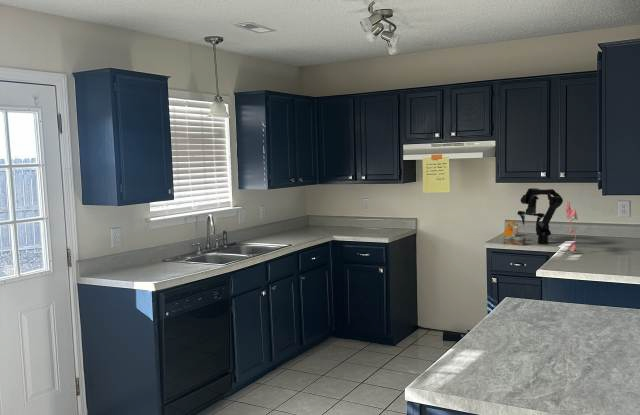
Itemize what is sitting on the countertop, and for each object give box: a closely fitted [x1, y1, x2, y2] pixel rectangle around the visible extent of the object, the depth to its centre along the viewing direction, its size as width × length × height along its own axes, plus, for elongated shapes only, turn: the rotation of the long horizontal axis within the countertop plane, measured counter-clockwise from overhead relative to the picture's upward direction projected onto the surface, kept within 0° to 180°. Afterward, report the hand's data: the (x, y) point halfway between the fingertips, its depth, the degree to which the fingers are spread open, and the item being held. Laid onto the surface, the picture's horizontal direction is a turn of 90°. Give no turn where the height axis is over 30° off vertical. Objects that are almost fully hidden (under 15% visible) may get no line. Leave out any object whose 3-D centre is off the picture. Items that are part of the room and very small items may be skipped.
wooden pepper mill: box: [512, 223, 519, 237], centre depth 459 cm, size 4×4×13 cm
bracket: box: [502, 220, 516, 237], centre depth 481 cm, size 11×7×12 cm, turn 64°
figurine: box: [565, 200, 579, 252], centre depth 410 cm, size 15×26×35 cm, turn 166°
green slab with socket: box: [502, 236, 527, 246], centre depth 449 cm, size 15×12×5 cm
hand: (529, 225), depth 456 cm, fingers open, 9 cm apart
